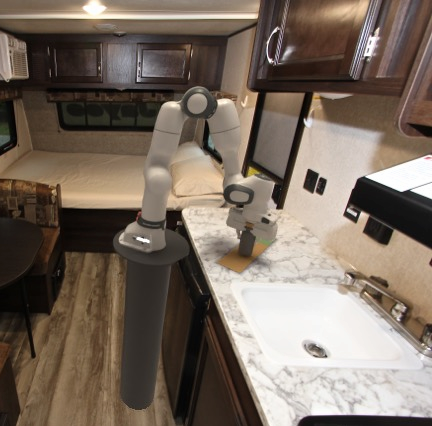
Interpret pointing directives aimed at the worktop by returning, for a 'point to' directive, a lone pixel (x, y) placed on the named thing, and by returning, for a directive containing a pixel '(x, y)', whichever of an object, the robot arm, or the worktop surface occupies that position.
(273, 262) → the worktop surface
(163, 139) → the robot arm
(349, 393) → the worktop surface
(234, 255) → the plate
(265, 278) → the worktop surface
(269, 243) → the pad
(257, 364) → the worktop surface
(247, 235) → the bottle
